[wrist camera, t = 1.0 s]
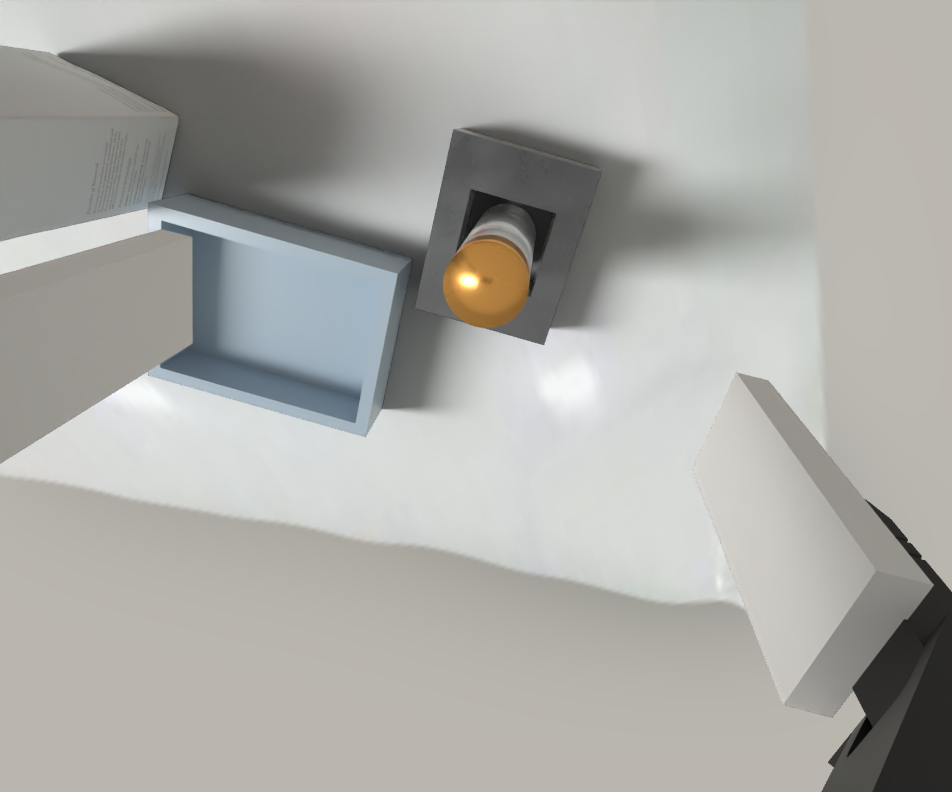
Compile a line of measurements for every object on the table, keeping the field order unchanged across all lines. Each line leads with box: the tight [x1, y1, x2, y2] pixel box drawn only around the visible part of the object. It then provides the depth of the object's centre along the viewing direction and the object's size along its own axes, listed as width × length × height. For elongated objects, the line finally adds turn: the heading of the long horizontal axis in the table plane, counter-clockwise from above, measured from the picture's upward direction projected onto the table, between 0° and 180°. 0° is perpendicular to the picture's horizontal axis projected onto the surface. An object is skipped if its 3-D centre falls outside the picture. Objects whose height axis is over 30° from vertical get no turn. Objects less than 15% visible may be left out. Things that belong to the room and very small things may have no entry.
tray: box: [148, 194, 413, 437], centre depth 37 cm, size 15×11×4 cm
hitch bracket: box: [415, 128, 601, 345], centre depth 34 cm, size 8×10×3 cm
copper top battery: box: [443, 204, 536, 328], centre depth 30 cm, size 4×4×12 cm
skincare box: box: [0, 46, 179, 241], centre depth 29 cm, size 8×6×15 cm
